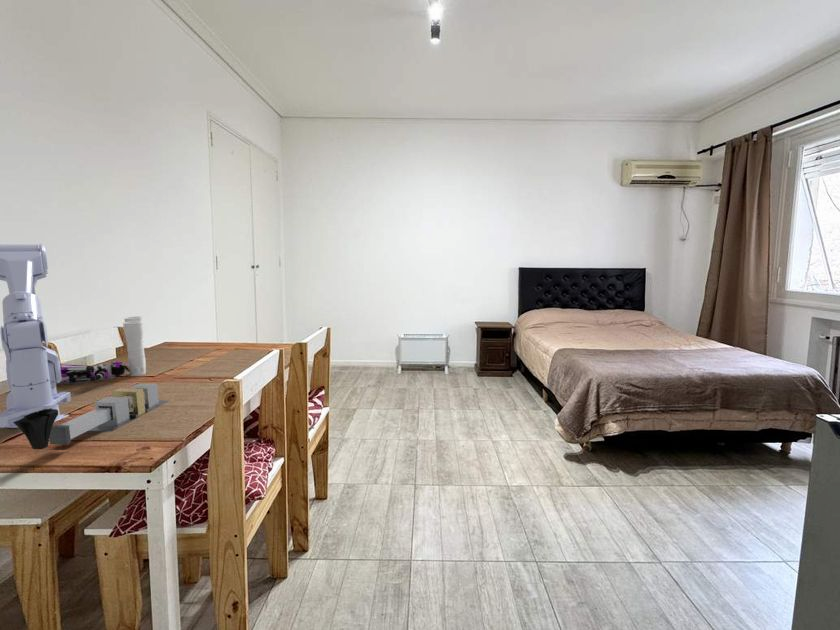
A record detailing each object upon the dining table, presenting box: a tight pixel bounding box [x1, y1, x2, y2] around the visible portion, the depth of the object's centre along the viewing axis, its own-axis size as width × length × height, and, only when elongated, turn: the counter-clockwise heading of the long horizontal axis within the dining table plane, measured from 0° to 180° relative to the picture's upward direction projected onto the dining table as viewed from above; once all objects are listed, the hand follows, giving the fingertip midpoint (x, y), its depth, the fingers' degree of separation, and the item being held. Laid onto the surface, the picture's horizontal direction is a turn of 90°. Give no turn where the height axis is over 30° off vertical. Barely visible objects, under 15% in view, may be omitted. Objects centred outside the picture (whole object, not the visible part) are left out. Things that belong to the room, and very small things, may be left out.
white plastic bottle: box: [122, 315, 147, 377], centre depth 156 cm, size 17×5×18 cm, turn 31°
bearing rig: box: [87, 382, 169, 432], centre depth 113 cm, size 7×21×6 cm, turn 175°
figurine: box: [56, 361, 131, 385], centre depth 144 cm, size 24×7×29 cm
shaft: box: [49, 398, 130, 446], centre depth 102 cm, size 4×19×4 cm, turn 175°
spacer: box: [111, 387, 145, 417], centre depth 113 cm, size 6×2×6 cm, turn 85°
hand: (40, 447), depth 89 cm, fingers closed
